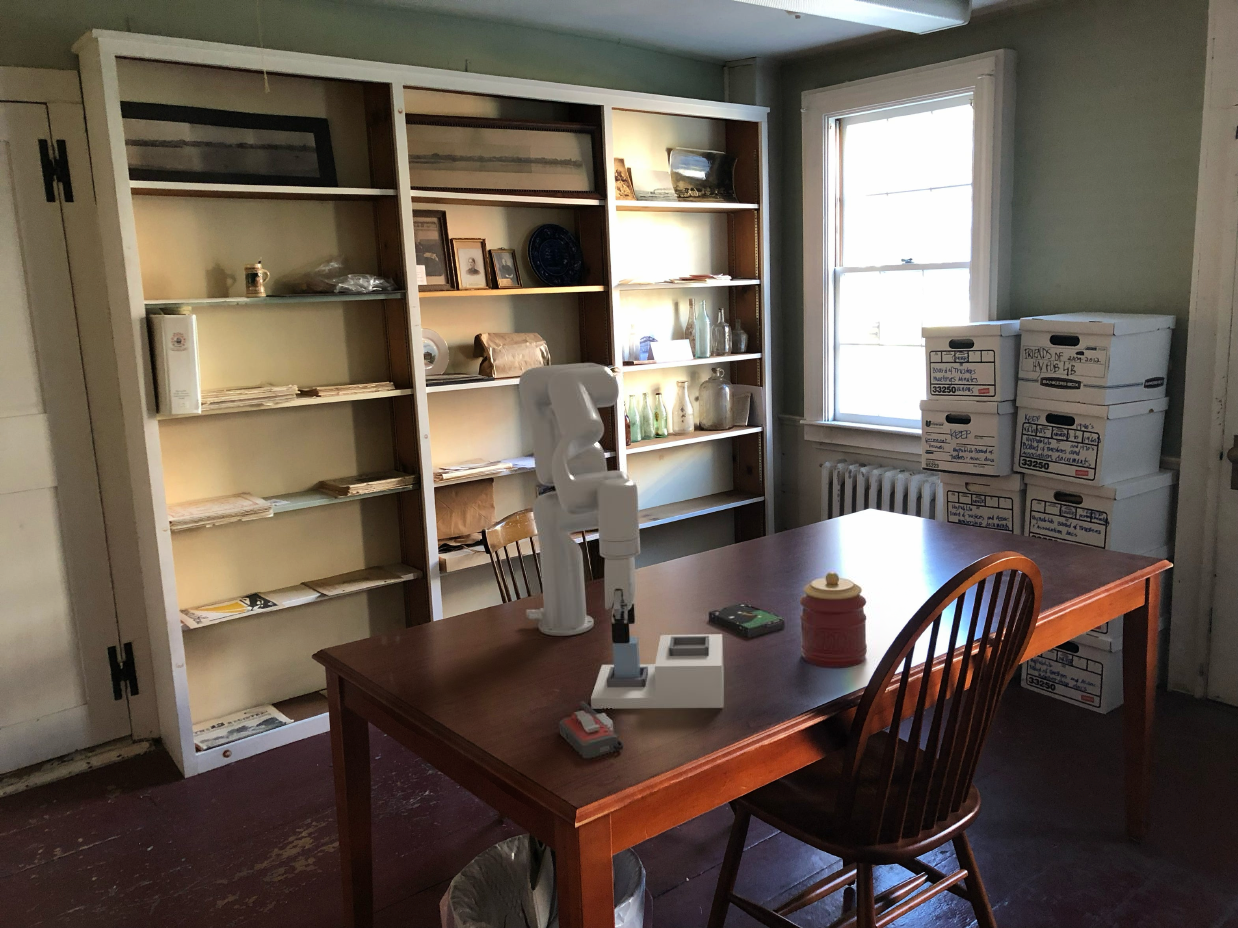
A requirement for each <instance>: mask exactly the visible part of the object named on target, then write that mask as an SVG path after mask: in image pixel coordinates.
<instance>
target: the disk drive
mask: <svg viewBox="0 0 1238 928" xmlns="http://www.w3.org/2000/svg"><path fill="white" fill-rule="evenodd" d="M708 621H709V622H711V623H714V624H715V625H718V626H721V627H723V628H725V629H727V630H729V629H730V631H732V632H734V631H735V632H734V633H736V632H737V633H736V634H739V635H741V634H742V635H741V636H743V635H744V637H746V636H747V637H746V638H748V637H749V638H748V639H750V637H751V638H754V637H758V636H760V634H761V635H765V634H768V633H771V631H772V632H776V631H778V629H779V630H781V629H785V626H786V625H785V620H784V619H783V617H782V616H780V615H777V614H774V613H772V612H769V611H766V610H763V609H761V608H758V607H756V606H754V605H751V604H748V603H745V602H740V603H737V604H733V605H729V606H725V607H723V608H722V609H721V610H719V609H715V610H710V611H708ZM764 633H765V634H764ZM757 635H758V636H757ZM753 636H754V637H753Z"/></svg>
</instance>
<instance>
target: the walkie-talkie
mask: <svg viewBox="0 0 1238 928" xmlns="http://www.w3.org/2000/svg"><path fill="white" fill-rule="evenodd" d="M579 706H580V707H581V708H582V709H583V710H578V711H576V712H575V711H574V712H572V713H571V716H569V717H568V716H567V717H564V718H562V719H561V720H560V721H559V734H560V735H561V737H562V738H563V739H564V738H565V739H564V740H565V741H566V740H567V741H566V742H567V743H568V742H569V743H568V744H569V745H570V746H571V747H572V746H573V747H572V748H573V749H574V750H575V751H576V752H577V751H578V752H579V753H578V752H577V753H578V755H580V756H581V755H582V756H581V757H582V758H583V759H586V758H589V759H592V758H591V757H593V758H596V756H597V757H600V756H603V755H602V754H604V755H606V754H605V753H608V754H610V753H609V752H611V753H613V752H612V751H615V752H617V751H622V750H623V749H624V744H623V742H622V741H621V740H620V739H619V738H618V737H619V736H618V735H617V734H616V733H615V732H614V721H613V720H612V719H611V718H610V717H608V716H607V714H606V713H605V712H602V713H598V712H596V711H595V710H594V709H592V708H591V705H589V704H588V703H586V702H585V701H583V700H582V701H580V702H579ZM616 750H617V751H616ZM599 755H600V756H599Z"/></svg>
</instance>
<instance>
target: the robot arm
mask: <svg viewBox="0 0 1238 928" xmlns="http://www.w3.org/2000/svg"><path fill="white" fill-rule="evenodd" d="M518 388H519V389H518V390H519V397H520V401H521V404H522V406H523V408H524V411H525V413H526V416H527V418H528V421H529V424H530V428H531V429H530V430H531V436H532V438H531V439H532V447H533V449H532V451H533V460H534V468H535V474H536V478H537V480H538V482H539V483H540V484H542V485H543V486H548V487H549V486H554V488H555V490H554V491H550V492H546V493H544V494H541V495H539V496H538V497H536V499H535V500H534V502H533V504H532V516H533V521H534V524H535V529H536V533H537V538H538V539H537V540H538V546H539V557H540V570H541V581H542V583H541V584H542V598H543V607H540V609H526V611H525V615H526V618H527V619H529V621H539V623H538V630H539V631H540V632H541V633H543V634H545V635H547V636H548V635H550V636H555V637H556V636H557V637H565V636H574V635H579V634H582V633H585V632H587V631H589V630H592V629H593V627H594V626H595V624H594V621H595V620H594V618H592V616H590V615H587V604H586V603H587V602H586V601H587V600H586V590H585V589H586V588H585V573H584V572H585V571H584V561H583V551H582V549H581V546H580V545H579V543H578V542H576V541H575V539H573V538H572V537H571V534H572V533H576V532H582V531H590V530H596V529H598V542H599V543H598V544H599V555H600V556H601V557H602V558H604V609H605V610H607V611H609V610H611V609H612V610H611V641H612V644H613V643H629V642H630V637H631V635H630V625H634V624H635V622H636V618H635V617H636V616H635V603H634V599H635V596H636V567H635V566H636V565H635V564H636V563H635V562H636V561H635V557H637V556H639V555H640V554H641V540H640V523H639V520H640V519H639V518H640V517H639V496H638V495H639V494H638V487H637V484H636V482H634V480H632V479H631V478H630V477H629V476H628V474H627V473H626V472H624V471H622V470H608V467H607V466H608V465H607V459H606V454H605V451H604V448H603V447H602V445H601V444H600V443H599V441H600V440H601V438H602V437H603V436H604V432H605V426H604V423H603V421H602V418H601V415H600V412H599V410H598V408H606V407H608V408H609V407H612V406H613V405H615V404H616V403H617V401H618V398H619V394H620V393H619V391H620V390H619V383H618V381H617V378H616V375H615V373H614V372H613V371H612V370H611V369H610V368H609V367H607V366H606V365H601V364H597V363H594V362H584V363H583V362H581V363H579V362H578V363H569V364H552V365H544V366H543V365H542V366H537V367H531V368H529V369H527V370H524V371H523V372H522V373H521V375H520V376H519V381H518Z"/></svg>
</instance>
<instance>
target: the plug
mask: <svg viewBox="0 0 1238 928" xmlns="http://www.w3.org/2000/svg"><path fill="white" fill-rule="evenodd" d="M639 641H640V640H639V636H630V642H629V643H613V642H612V655H613V658H612V659H613V665H614V675H615V678H640V664H641V663H640V661H641V660H640V659H641V658H640V647H639V646H640V644H639Z"/></svg>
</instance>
